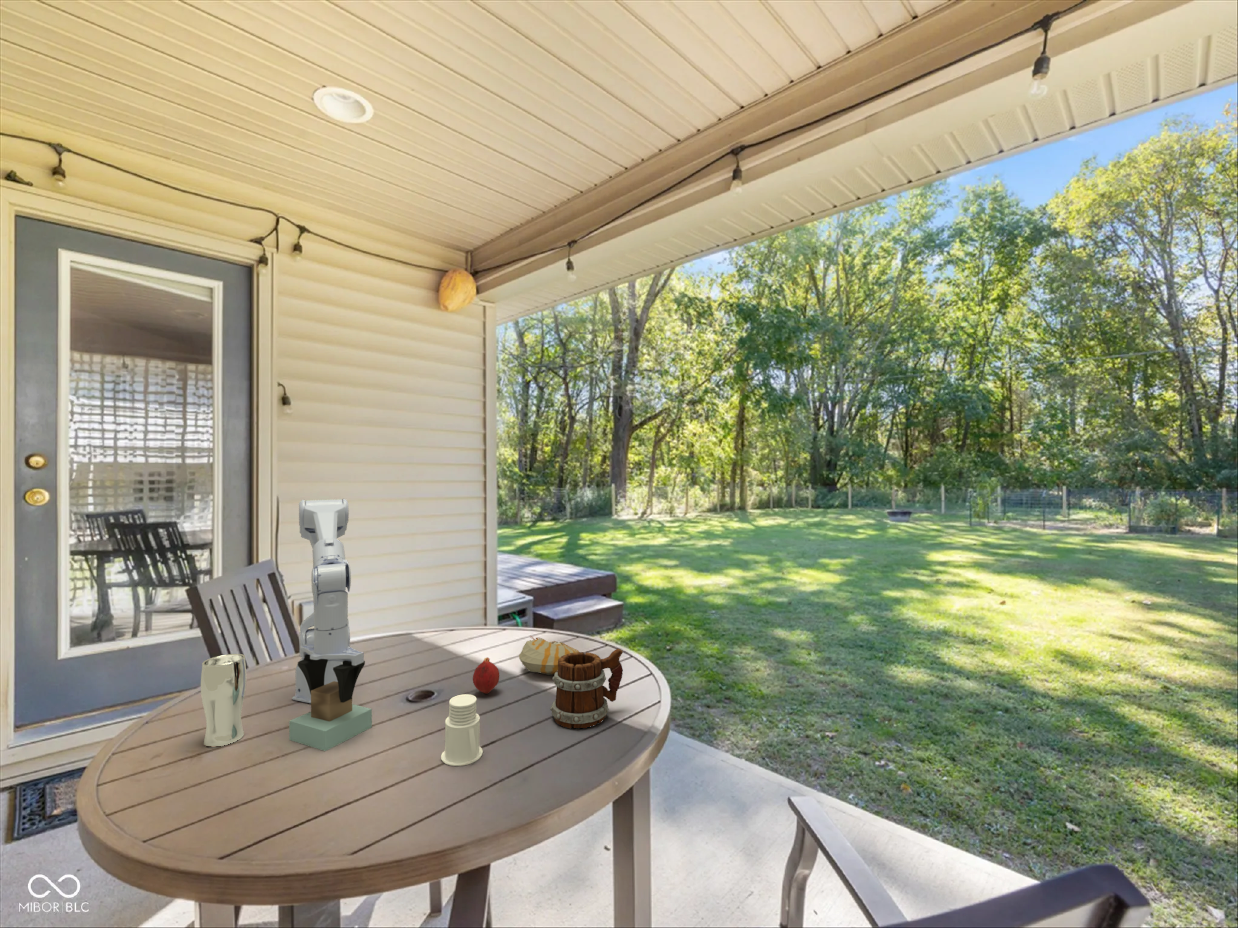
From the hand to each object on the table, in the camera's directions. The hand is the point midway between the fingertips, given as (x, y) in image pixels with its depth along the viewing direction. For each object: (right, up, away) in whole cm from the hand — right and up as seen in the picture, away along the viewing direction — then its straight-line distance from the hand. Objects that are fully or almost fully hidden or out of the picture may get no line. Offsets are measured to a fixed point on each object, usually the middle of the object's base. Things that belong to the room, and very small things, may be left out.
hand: (331, 697), depth 104 cm
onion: (+25, -7, +18) cm, 32 cm away
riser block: (0, -7, 0) cm, 7 cm away
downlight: (+28, -7, -9) cm, 30 cm away
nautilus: (+37, -7, +33) cm, 50 cm away
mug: (+49, -7, +6) cm, 50 cm away
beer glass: (-19, -7, -2) cm, 20 cm away
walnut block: (0, -3, 0) cm, 3 cm away
